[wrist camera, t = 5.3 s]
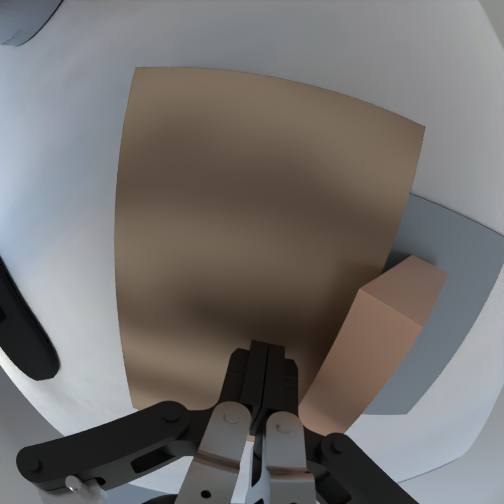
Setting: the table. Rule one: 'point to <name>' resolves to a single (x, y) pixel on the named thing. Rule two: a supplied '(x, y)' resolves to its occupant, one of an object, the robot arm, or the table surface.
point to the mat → (450, 298)
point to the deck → (247, 222)
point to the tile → (371, 344)
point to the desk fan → (23, 336)
